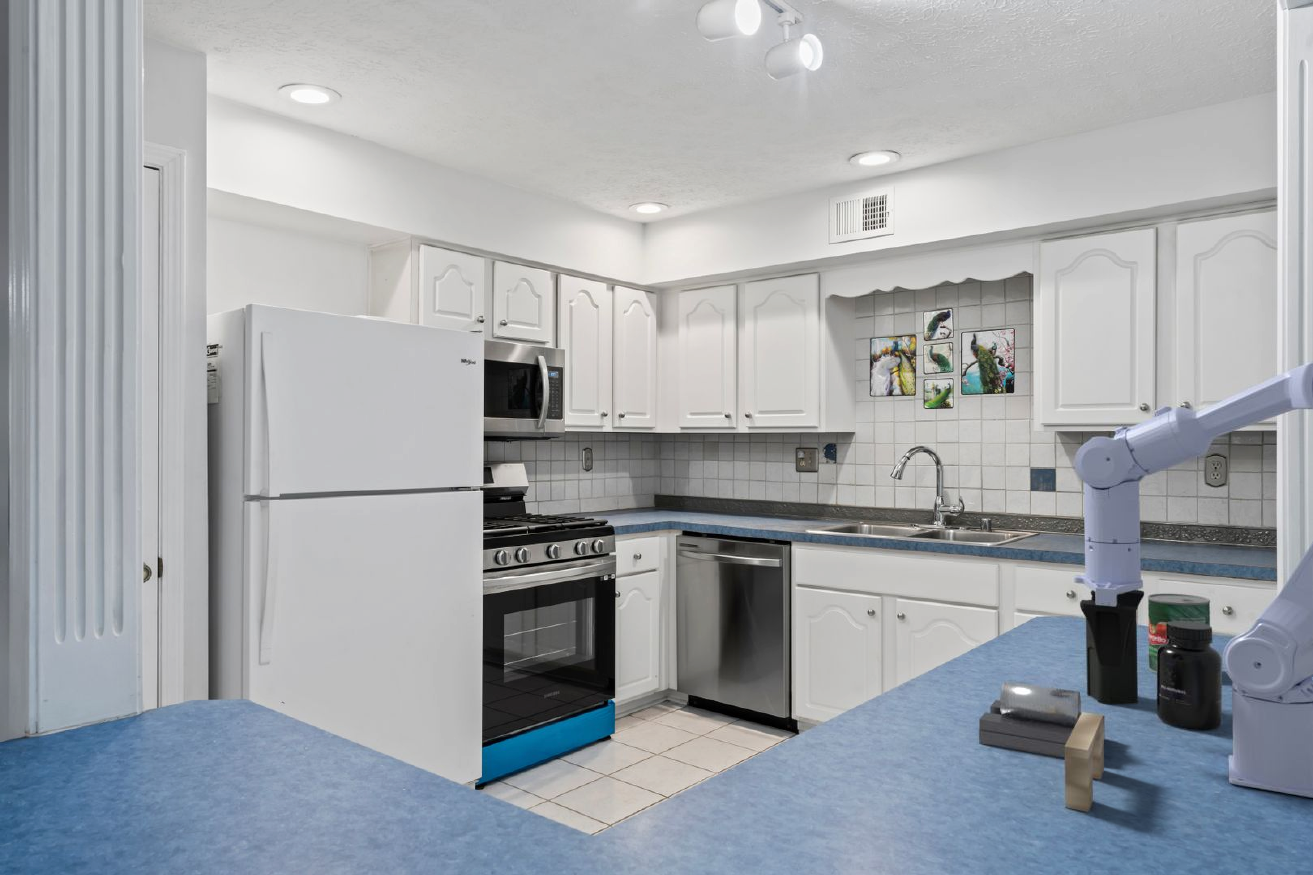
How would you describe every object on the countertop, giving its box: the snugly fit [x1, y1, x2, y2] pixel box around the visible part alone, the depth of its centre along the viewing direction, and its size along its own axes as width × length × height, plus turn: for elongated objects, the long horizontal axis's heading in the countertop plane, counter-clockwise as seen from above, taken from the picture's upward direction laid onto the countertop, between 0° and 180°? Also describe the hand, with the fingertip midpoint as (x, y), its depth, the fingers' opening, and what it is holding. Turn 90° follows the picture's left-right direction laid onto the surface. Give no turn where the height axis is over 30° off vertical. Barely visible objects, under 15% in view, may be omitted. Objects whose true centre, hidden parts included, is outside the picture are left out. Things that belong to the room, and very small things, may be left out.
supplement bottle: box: [1156, 621, 1223, 732], centre depth 106 cm, size 7×7×12 cm
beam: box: [1064, 711, 1105, 813], centre depth 87 cm, size 2×12×6 cm, turn 147°
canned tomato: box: [1147, 593, 1211, 675], centre depth 128 cm, size 8×8×11 cm
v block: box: [978, 699, 1106, 759], centre depth 100 cm, size 12×9×3 cm
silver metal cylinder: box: [999, 681, 1082, 726], centre depth 100 cm, size 8×4×4 cm, turn 57°
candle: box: [1085, 596, 1139, 705], centre depth 116 cm, size 5×5×25 cm
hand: (1113, 657), depth 100 cm, fingers open, 7 cm apart
